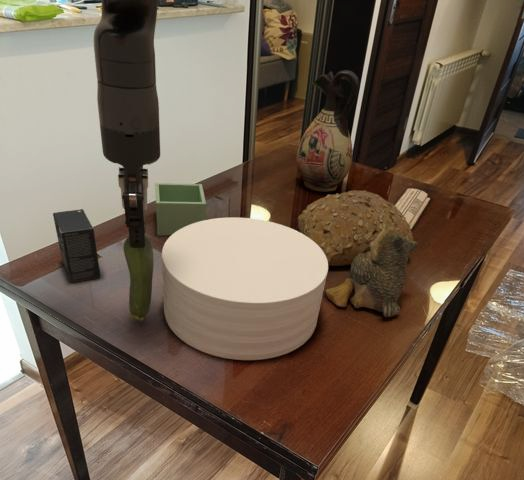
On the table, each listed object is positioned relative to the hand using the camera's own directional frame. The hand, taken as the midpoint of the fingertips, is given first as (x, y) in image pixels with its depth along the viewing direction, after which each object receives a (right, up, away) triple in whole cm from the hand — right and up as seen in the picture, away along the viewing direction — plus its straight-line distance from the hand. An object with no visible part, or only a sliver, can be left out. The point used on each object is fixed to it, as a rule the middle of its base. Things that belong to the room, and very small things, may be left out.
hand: (137, 239), depth 74 cm
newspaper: (+59, +21, +58) cm, 86 cm away
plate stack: (+15, -9, +16) cm, 24 cm away
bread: (+39, +7, +39) cm, 55 cm away
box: (-16, -1, +20) cm, 26 cm away
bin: (0, +12, +38) cm, 40 cm away
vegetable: (-2, -12, +10) cm, 15 cm away
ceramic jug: (+36, +30, +64) cm, 79 cm away
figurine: (+40, -7, +23) cm, 46 cm away
